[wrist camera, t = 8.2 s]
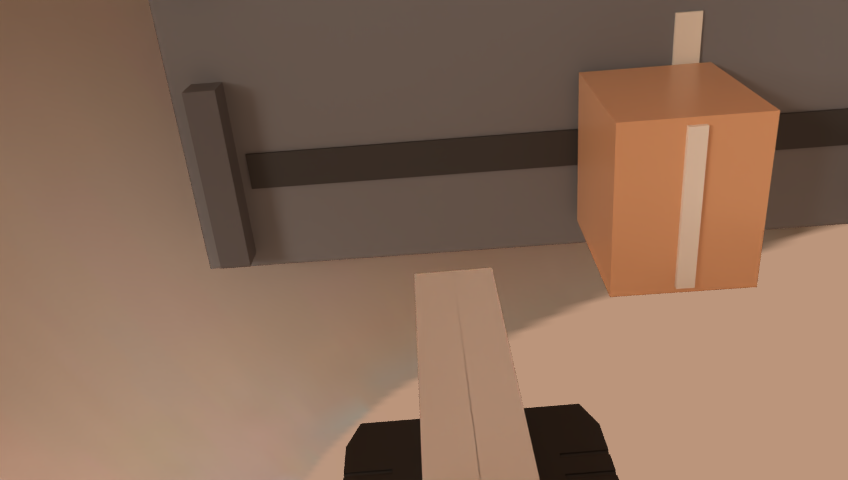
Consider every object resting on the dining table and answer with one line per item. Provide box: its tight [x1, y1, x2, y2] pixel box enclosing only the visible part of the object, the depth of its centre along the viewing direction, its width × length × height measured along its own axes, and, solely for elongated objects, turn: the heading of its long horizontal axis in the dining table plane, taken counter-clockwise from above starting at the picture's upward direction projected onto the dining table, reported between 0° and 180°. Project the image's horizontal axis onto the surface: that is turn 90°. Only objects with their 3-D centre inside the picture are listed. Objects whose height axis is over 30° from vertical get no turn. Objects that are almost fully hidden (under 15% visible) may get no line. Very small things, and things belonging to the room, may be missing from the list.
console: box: [149, 0, 848, 269], centre depth 23 cm, size 24×17×3 cm
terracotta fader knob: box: [577, 62, 780, 297], centre depth 22 cm, size 4×5×5 cm
